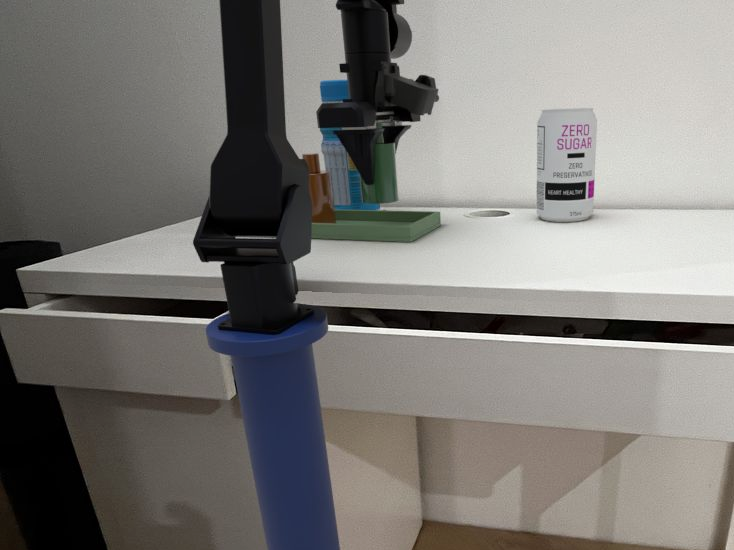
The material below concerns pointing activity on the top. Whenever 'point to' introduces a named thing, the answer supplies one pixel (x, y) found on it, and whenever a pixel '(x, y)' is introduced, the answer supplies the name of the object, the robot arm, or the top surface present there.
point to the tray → (377, 225)
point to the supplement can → (566, 164)
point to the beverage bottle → (341, 156)
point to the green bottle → (382, 174)
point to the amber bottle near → (320, 191)
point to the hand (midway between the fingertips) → (378, 182)
